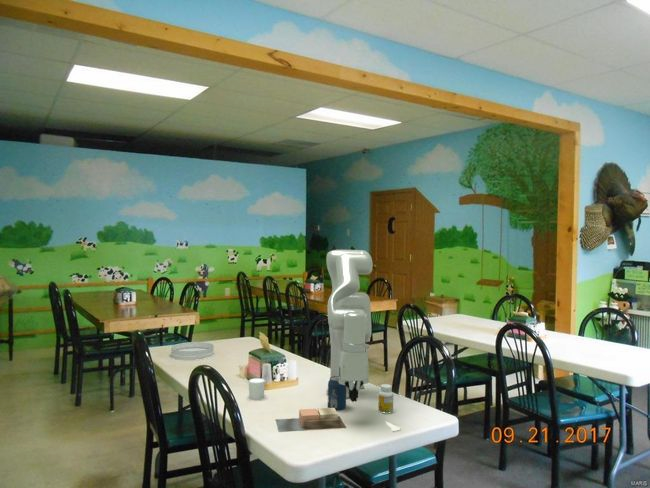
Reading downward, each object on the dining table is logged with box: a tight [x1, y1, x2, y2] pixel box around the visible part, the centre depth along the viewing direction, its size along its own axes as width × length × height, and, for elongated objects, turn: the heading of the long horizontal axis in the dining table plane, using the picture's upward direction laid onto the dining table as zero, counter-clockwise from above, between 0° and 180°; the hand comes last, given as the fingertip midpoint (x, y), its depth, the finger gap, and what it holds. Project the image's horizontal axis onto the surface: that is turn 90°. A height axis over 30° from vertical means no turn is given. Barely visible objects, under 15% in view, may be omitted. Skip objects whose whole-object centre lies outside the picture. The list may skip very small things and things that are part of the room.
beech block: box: [317, 407, 339, 420], centre depth 171 cm, size 6×6×4 cm
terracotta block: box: [298, 408, 319, 428], centre depth 170 cm, size 6×6×4 cm
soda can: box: [327, 376, 347, 411], centre depth 187 cm, size 7×7×12 cm
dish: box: [170, 341, 215, 361], centre depth 265 cm, size 22×22×5 cm
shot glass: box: [248, 377, 266, 401], centre depth 199 cm, size 7×7×7 cm
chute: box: [275, 415, 347, 433], centre depth 170 cm, size 23×11×4 cm, turn 101°
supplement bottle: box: [378, 383, 394, 414], centre depth 186 cm, size 5×5×10 cm
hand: (353, 400), depth 172 cm, fingers closed
